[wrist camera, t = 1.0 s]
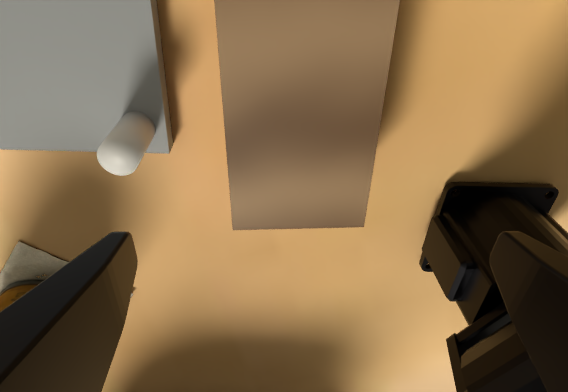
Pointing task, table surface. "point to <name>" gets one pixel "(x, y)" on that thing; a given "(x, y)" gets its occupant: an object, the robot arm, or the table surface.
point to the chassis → (84, 79)
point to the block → (302, 107)
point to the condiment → (25, 272)
